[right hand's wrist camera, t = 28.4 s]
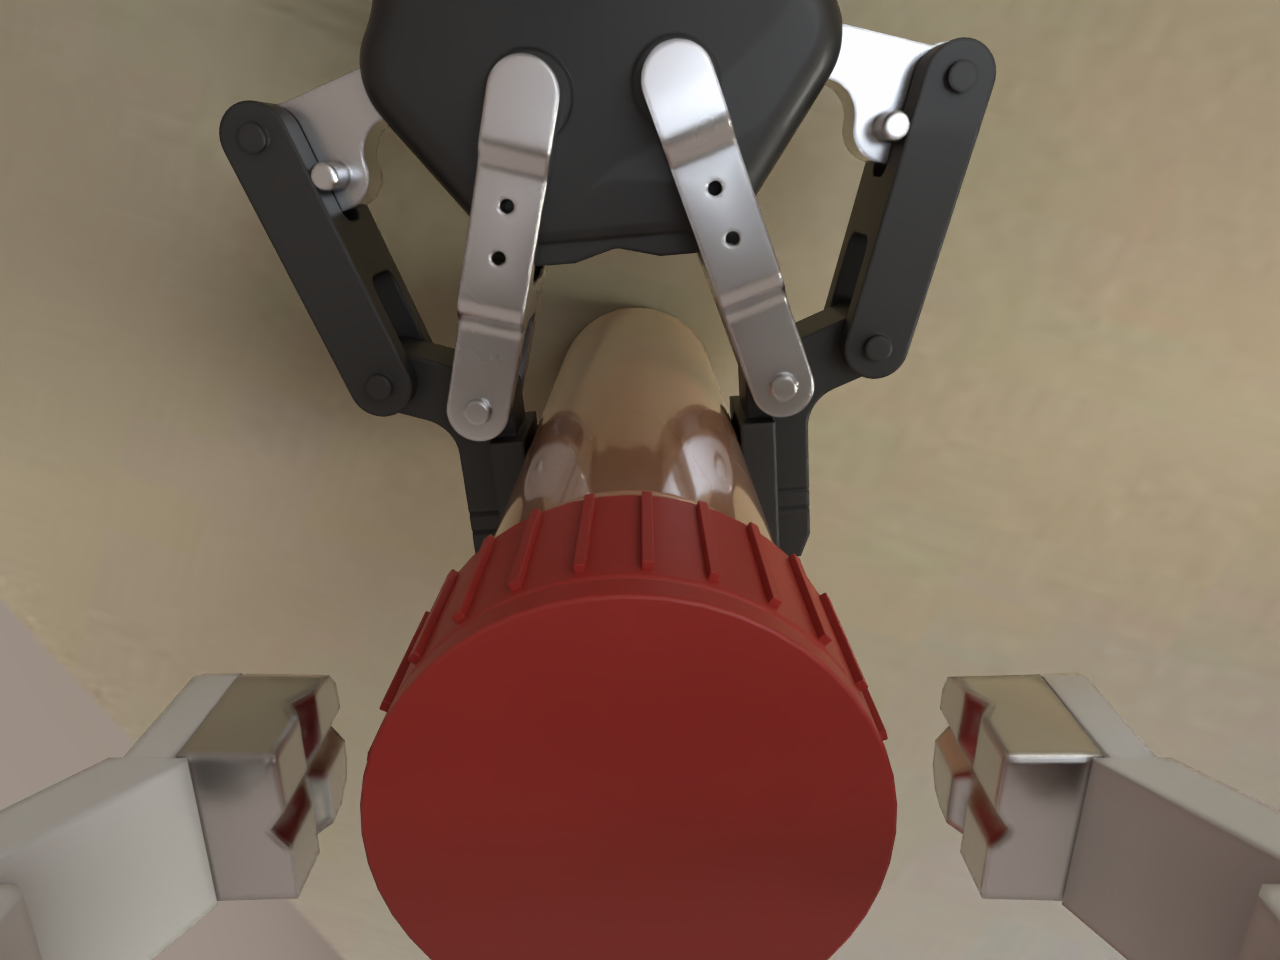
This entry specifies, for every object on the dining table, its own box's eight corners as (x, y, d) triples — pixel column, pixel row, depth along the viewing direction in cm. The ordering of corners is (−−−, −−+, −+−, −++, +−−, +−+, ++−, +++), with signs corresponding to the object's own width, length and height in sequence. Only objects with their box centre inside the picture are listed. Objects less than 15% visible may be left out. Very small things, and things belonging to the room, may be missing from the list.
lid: (673, 394, 9) (684, 469, 7) (929, 722, 11) (1008, 877, 8) (324, 653, 10) (232, 794, 8) (597, 921, 12) (586, 1109, 9)
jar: (729, 326, 24) (892, 617, 9) (692, 469, 26) (773, 945, 10) (577, 291, 24) (457, 529, 8) (548, 438, 26) (398, 880, 10)
